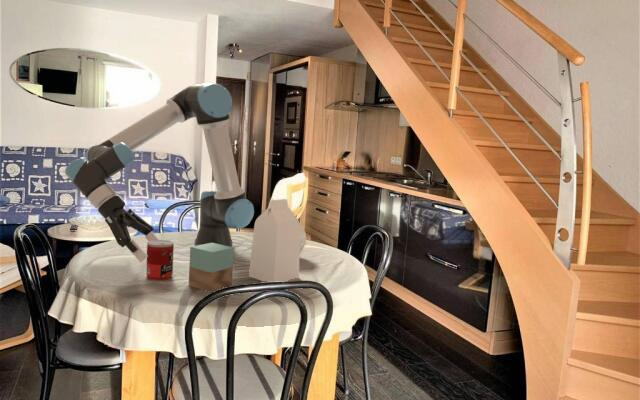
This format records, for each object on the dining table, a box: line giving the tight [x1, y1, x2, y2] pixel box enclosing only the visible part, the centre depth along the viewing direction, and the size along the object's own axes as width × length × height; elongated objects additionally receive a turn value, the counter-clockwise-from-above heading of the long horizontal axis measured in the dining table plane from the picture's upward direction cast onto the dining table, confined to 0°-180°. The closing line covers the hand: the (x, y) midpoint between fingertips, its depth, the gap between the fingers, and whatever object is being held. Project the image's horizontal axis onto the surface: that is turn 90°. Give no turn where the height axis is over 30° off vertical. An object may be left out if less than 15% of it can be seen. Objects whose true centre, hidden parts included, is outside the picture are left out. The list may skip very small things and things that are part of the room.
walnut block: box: [188, 265, 234, 292], centre depth 145 cm, size 9×9×6 cm
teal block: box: [189, 243, 235, 273], centre depth 145 cm, size 9×9×6 cm
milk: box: [248, 198, 301, 282], centre depth 158 cm, size 12×12×26 cm
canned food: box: [146, 239, 175, 281], centre depth 150 cm, size 8×8×11 cm
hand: (153, 254), depth 149 cm, fingers open, 13 cm apart
